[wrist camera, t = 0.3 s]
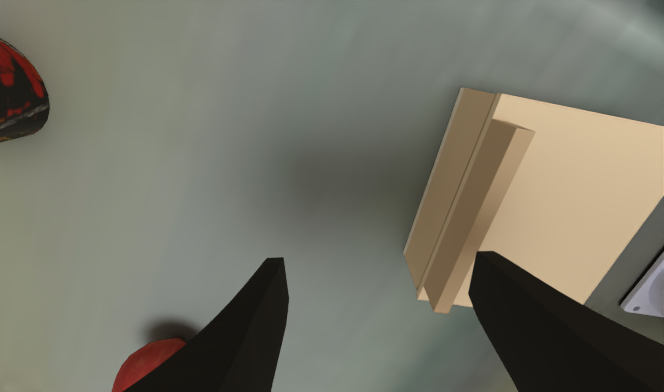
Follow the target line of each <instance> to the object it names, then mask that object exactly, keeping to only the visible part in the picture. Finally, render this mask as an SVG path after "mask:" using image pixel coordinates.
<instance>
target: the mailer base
mask: <svg viewBox="0 0 664 392" xmlns="http://www.w3.org/2000/svg"><path fill="white" fill-rule="evenodd" d="M496 95H497V94H493V93H488V92H483V91H478V90H473V89H468V88H463V87H461V88H460V91H459V94H458V97H457V100H456V103H455V106H454V108H453V111H452V114H451V117H450V120H449V123H448V126H447V128H446V131H445V134H444V137H443V140H442V143H441V146H440V148H439V151H438V154H437V157H436V160H435V163H434V166H433V168H432V171H431V174H430V177H429V180H428V183H427V185H426V188H425V191H424V194H423V197H422V200H421V203H420V205H419V208H418V211H417V214H416V217H415V220H414V223H413V225H412V228H411V231H410V234H409V237H408V240H407V243H406V245H405V248H404V251H403V253H404V256H405V259H406V262H407V264H408V267H409V270H410V273H411V276H412V278H413V281H414V284H415V287H416V289H417V290H418V288H419V286H420V283H421V281H422V278H423V276H424V273H425V271H426V269H427V266H428V264H429V261H430V259H431V256H432V254H433V251H434V249H435V246H436V244H437V241H438V239H439V236H440V234H441V231H442V229H443V226H444V224H445V221H446V219H447V217H448V214H449V212H450V209H451V207H452V204H453V202H454V199H455V197H456V194H457V192H458V189H459V187H460V184H461V182H462V179H463V177H464V174H465V172H466V169H467V167H468V165H469V162H470V160H471V157H472V155H473V152H474V150H475V147H476V145H477V142H478V140H479V137H480V135H481V132H482V130H483V127H484V125H485V122H486V120H487V117H488V115H489V113H490V110H491V108H492V105H493V103H494V100H495V98H496Z"/></svg>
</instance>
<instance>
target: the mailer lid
mask: <svg viewBox="0 0 664 392" xmlns="http://www.w3.org/2000/svg"><path fill="white" fill-rule="evenodd" d="M663 196H664V126H659V125H654V124H649V123H644V122H639V121H634V120H630V119H625V118H620V117H615V116H610V115H605V114H600V113H595V112H590V111H585V110H580V109H576V108H571V107H566V106H561V105H556V104H551V103H546V102H541V101H536V100H531V99H527V98H522V97H517V96H512V95H507V94H502V93H497V95H496V98H495V100H494V103H493V105H492V108H491V110H490V113H489V115H488V117H487V120H486V122H485V125H484V127H483V130H482V132H481V135H480V137H479V140H478V142H477V145H476V147H475V150H474V152H473V155H472V157H471V160H470V162H469V165H468V167H467V169H466V172H465V174H464V177H463V179H462V182H461V184H460V187H459V189H458V192H457V194H456V197H455V199H454V202H453V204H452V207H451V209H450V212H449V214H448V217H447V219H446V221H445V224H444V226H443V229H442V231H441V234H440V236H439V239H438V241H437V244H436V246H435V249H434V251H433V254H432V256H431V259H430V261H429V264H428V266H427V269H426V271H425V273H424V276H423V278H422V281H421V283H420V286H419V288H418V291H417V293H416V296H417V299H420V300H426V301H430V304H431V306H432V309H433V311H434V312H438V313H446V314H448V313H449V311H450V309H451V306H452V304H454V305H461V306H468V307H473V305H472V303H471V300H470V298H469V295H468V291H469V286H470V281H471V276H472V272H473V267H474V262H475V257H476V252H477V251H495V252H497V253H498V254H500V255H502V256H503V257H505V258H507V259H508V260H510V261H512V262H513V263H515V264H516V265H518V266H520V267H521V268H523V269H524V270H526V271H527V272H529V273H531V274H532V275H534V276H535V277H537V278H539V279H540V280H542V281H543V282H545V283H547V284H548V285H550V286H551V287H553V288H555V289H556V290H558V291H560V292H561V293H563V294H565V295H567V296H568V297H570V298H572V299H573V300H575V301H577V302H579V303H581V304H582V305H583V304H584V303H585V301H586V300H587V298H588V297H589V296H590V294H591V293H592V292H593V290H594V289H595V288H596V286H597V285H598V284H599V282H600V281H601V280H602V278H603V277H604V275H605V274H606V273H607V271H608V270H609V269H610V267H611V266H612V265H613V263H614V262H615V261H616V259H617V258H618V257H619V255H620V254H621V252H622V251H623V250H624V248H625V247H626V246H627V244H628V243H629V242H630V240H631V239H632V238H633V236H634V235H635V234H636V232H637V231H638V229H639V228H640V227H641V225H642V224H643V223H644V221H645V220H646V219H647V217H648V216H649V215H650V213H651V212H652V211H653V209H654V208H655V206H656V205H657V204H658V202H659V201H660V200H661V198H662V197H663Z"/></svg>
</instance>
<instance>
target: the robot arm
mask: <svg viewBox="0 0 664 392" xmlns="http://www.w3.org/2000/svg"><path fill="white" fill-rule="evenodd" d="M468 295H469V298H470V300H471V303H472V305H473V308H474V310H475V313H476V315H477V317H478V320H479V321H480V323H481V325H482V327H483V329H484V331H485V332H486V334H487V336H488V338H489V340H490V341H491V343H492V345H493V347H494V348H495V350H496V352H497V354H498V355H499V357H500V359H501V361H502V362H503V364H504V366H505V368H506V370H507V371H508V373H509V375H510V377H511V378H512V380H513V382H514V384H515V386H516V388H517V390H518V392H664V345H663V344H660V343H658V342H656V341H654V340H651V339H649V338H647V337H645V336H643V335H641V334H638V333H636V332H634V331H632V330H630V329H628V328H626V327H624V326H622V325H620V324H618V323H616V322H614V321H612V320H610V319H608V318H606V317H604V316H602V315H601V314H599V313H597V312H595V311H593V310H591V309H589V308H588V307H586V306H584V305H582V304H581V303H579V302H577V301H575V300H573V299H572V298H570V297H568V296H567V295H565V294H563V293H561V292H560V291H558V290H556V289H555V288H553V287H551V286H550V285H548V284H547V283H545V282H543V281H542V280H540V279H539V278H537V277H535V276H534V275H532V274H531V273H529V272H527V271H526V270H524V269H523V268H521V267H520V266H518V265H516V264H515V263H513V262H512V261H510V260H508V259H507V258H505V257H503V256H502V255H500V254H498V253H497V252H495V251H477V252H476V257H475V262H474V267H473V272H472V276H471V281H470V286H469V291H468ZM288 304H289V295H288V288H287V280H286V273H285V266H284V258H283V257H282V258H267V259H266V260H265V261H264V262H263V263H262V265H261V266H260V267H259V268H258V270H257V271H256V272H255V273H254V275H253V276H252V277H251V278H250V279H249V281H248V282H247V283H246V284H245V285H244V287H243V288H242V289H241V290H240V291H239V292H238V293H237V295H236V296H235V297H234V298H233V299H232V300H231V301H230V302H229V303H228V304H227V306H226V307H225V308H224V309H223V310H222V311H221V312H220V313H219V314H218V315H217V316H216V317H215V318H214V319H213V320H212V321H211V322H210V323H209V324H208V325H207V326H206V327H205V328H204V329H203V330H201V331H200V332H199V333H198V334H197V335H196V336H195V337H194V338H193V339H191V340H190V341H189V342H188V343H187V344H186V345H184V346H183V347H182V348H181V349H179V350H178V351H177V352H175V353H174V354H173V355H172V356H170V357H169V358H168V359H167V360H165V361H164V362H163V363H162V364H160V365H159V366H158V367H156V368H155V369H154V370H152V371H151V372H150V373H148V374H147V375H145V376H144V377H143V378H141V379H140V380H138V381H137V382H135V383H134V384H133V385H131V386H130V387H128V388H127V389H125V390H124V391H122V392H271V388H272V383H273V379H274V375H275V371H276V366H277V362H278V358H279V353H280V349H281V345H282V341H283V336H284V332H285V327H286V321H287V313H288ZM621 308H622V309H623V310H624V311H626V312H631V313H638V314H645V315H652V316H658V317H664V252H663V253H662V254H661V255H660V257H659V258H658V259H657V260H656V262H655V263H654V264H653V265H652V267H651V268H650V269H649V270H648V271H647V273H646V274H645V275H644V276H643V278H642V279H641V280H640V281H639V283H638V284H637V285H636V286H635V287H634V289H633V290H632V291H631V292H630V294H629V295H628V296H627V297H626V299H625V300H624V301H623V302H622V304H621Z"/></svg>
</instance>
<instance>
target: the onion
mask: <svg viewBox="0 0 664 392" xmlns="http://www.w3.org/2000/svg"><path fill="white" fill-rule="evenodd" d="M186 344H187V343H185V342H184V340H182V339H181V338H172V339H165V340H160V341H155V342H151V343H148V344H147V345H145V346H144V347H142V348H140V349H139V350H137V351H136V352H134V353H133V354H131V355H130V356H129V357H128V359H127V360H126V361H125V362H124V363H123V364H122V366H121V368H120V370H119V372H118V374H117V376H116V379H115V382H114V384H113V388H112V392H122V391H124V390H125V389H127V388H128V387H130V386H131V385H133V384H134V383H135V382H137V381H138V380H140V379H141V378H143V377H144V376H145V375H147V374H148V373H150V372H151V371H152V370H154V369H155V368H156V367H158V366H159V365H160V364H162V363H163V362H164V361H165V360H167V359H168V358H169V357H170V356H172V355H173V354H174V353H175V352H177V351H178V350H179V349H181V348H182V347H183V346H184V345H186Z"/></svg>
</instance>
